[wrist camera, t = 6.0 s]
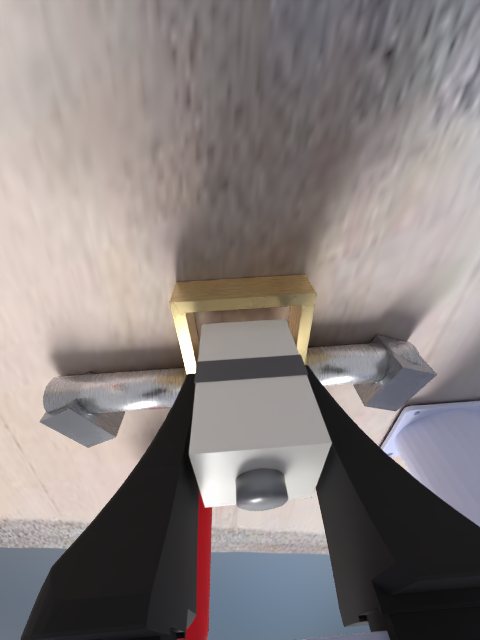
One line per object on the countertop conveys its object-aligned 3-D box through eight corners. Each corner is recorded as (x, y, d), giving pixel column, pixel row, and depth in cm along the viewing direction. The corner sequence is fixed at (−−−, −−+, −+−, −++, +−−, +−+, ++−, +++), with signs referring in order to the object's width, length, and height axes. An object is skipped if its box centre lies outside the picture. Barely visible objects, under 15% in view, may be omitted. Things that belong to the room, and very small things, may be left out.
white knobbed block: (287, 317, 12) (342, 464, 6) (281, 376, 14) (318, 518, 9) (200, 323, 12) (184, 478, 6) (209, 381, 14) (203, 528, 9)
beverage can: (143, 471, 25) (93, 681, 15) (202, 461, 24) (188, 673, 15) (168, 494, 29) (140, 675, 19) (219, 485, 28) (218, 668, 18)
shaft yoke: (443, 265, 13) (490, 292, 11) (384, 390, 19) (405, 423, 17) (0, 292, 13) (-49, 326, 10) (83, 411, 19) (64, 449, 16)
